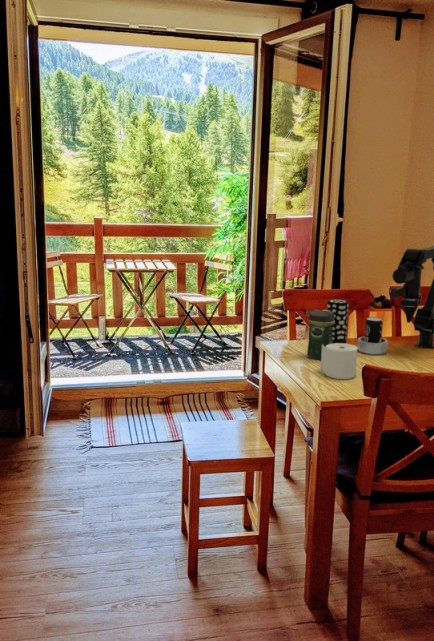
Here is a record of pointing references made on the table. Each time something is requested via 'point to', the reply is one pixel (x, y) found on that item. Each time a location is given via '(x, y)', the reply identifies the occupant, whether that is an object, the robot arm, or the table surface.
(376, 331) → the beverage can
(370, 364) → the table surface
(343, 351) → the toilet tissue
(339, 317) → the white-spotted black cylinder
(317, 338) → the coffee jar
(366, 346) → the can holder
